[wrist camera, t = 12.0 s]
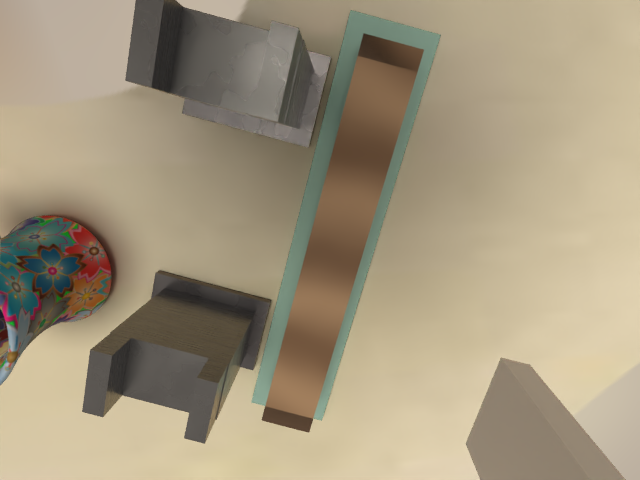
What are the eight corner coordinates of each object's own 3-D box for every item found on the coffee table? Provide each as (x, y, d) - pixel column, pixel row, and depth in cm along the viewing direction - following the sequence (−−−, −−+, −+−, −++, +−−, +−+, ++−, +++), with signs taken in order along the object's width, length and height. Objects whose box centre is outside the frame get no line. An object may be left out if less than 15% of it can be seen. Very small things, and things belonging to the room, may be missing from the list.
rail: (360, 49, 26) (363, 33, 22) (411, 63, 26) (424, 49, 22) (271, 386, 32) (261, 420, 28) (312, 397, 32) (309, 432, 28)
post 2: (159, 270, 31) (75, 328, 21) (271, 300, 31) (239, 371, 21) (147, 338, 32) (64, 422, 22) (254, 366, 32) (217, 462, 22)
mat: (350, 12, 26) (350, 10, 25) (438, 36, 26) (440, 34, 25) (252, 398, 33) (251, 402, 32) (322, 416, 33) (321, 420, 32)
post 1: (201, 23, 26) (119, -48, 17) (331, 58, 26) (325, 8, 17) (185, 114, 28) (102, 97, 18) (309, 147, 28) (292, 149, 18)
